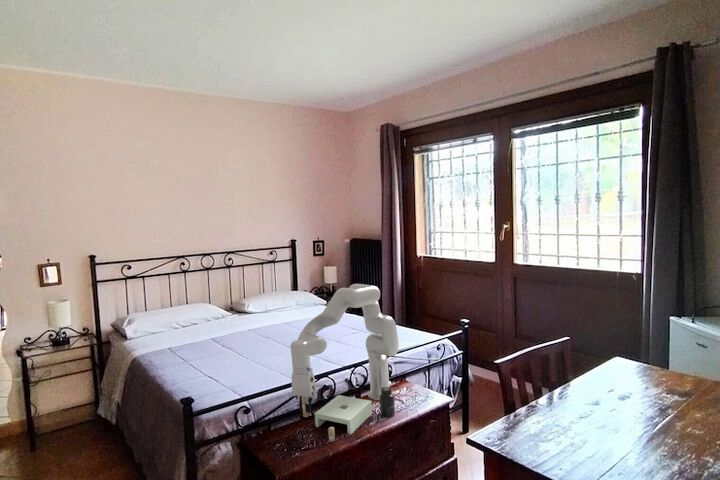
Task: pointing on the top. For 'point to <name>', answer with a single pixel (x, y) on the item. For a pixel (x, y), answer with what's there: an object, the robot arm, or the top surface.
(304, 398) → the long birch pin
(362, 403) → the plate
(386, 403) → the supplement bottle
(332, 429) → the short birch pin
